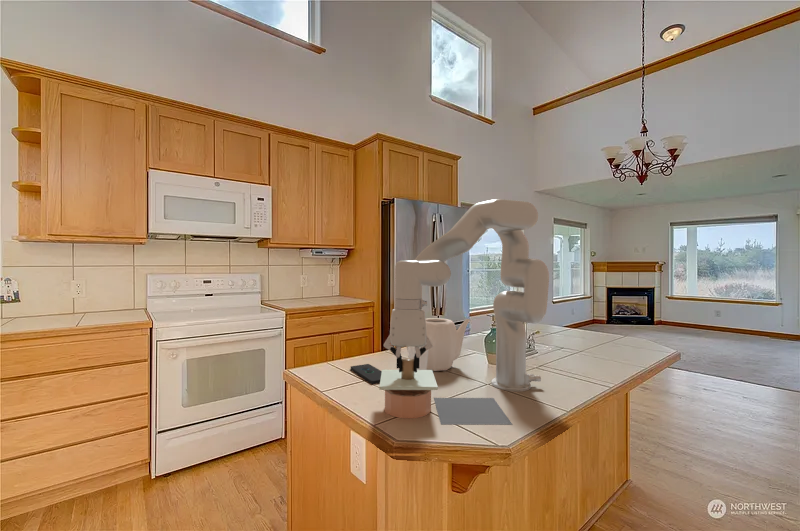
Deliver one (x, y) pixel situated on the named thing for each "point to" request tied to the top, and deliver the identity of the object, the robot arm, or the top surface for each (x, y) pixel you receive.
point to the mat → (470, 411)
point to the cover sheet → (407, 384)
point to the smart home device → (368, 373)
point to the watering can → (444, 342)
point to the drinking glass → (422, 360)
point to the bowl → (407, 403)
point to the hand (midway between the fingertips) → (407, 370)
